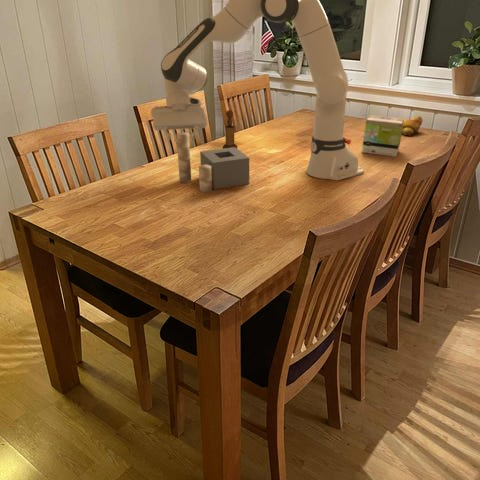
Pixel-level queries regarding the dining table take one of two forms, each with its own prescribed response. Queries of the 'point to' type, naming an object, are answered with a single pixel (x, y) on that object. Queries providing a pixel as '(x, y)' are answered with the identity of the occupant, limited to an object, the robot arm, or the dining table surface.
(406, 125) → the golden brown lumpy piece
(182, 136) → the tall pin
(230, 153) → the hole block
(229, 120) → the brown pedestal statuette
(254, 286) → the dining table surface
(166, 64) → the robot arm
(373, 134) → the tea box
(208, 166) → the short pin
